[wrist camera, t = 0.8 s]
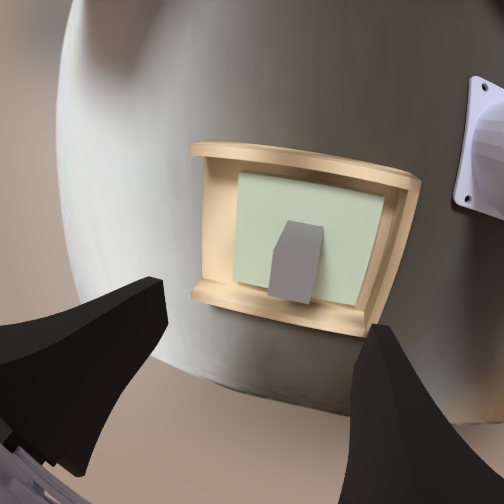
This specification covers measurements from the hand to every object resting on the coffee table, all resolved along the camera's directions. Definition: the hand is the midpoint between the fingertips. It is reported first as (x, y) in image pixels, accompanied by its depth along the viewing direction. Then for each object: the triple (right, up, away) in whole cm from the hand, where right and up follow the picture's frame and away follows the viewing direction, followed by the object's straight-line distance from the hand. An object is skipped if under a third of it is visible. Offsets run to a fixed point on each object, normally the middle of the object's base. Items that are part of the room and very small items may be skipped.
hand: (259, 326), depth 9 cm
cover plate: (+3, +3, +8) cm, 9 cm away
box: (+2, +4, +8) cm, 9 cm away
